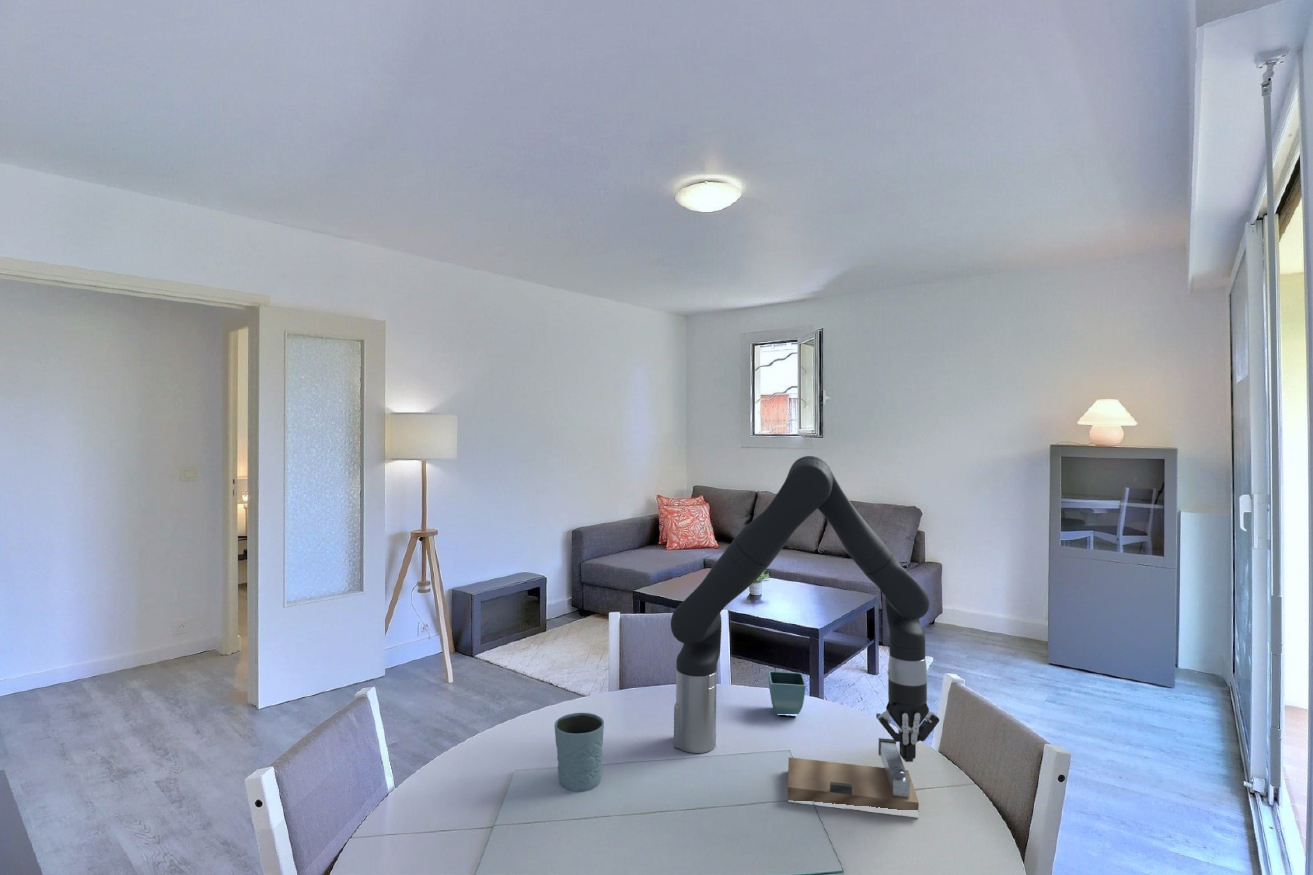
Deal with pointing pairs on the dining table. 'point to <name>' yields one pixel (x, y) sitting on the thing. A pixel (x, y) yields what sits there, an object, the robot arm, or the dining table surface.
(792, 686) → the flower pot
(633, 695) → the dining table surface
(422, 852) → the dining table surface
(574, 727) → the embossed green cup
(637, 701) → the dining table surface
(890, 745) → the hinged leg
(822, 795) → the wooden board with bar
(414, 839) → the dining table surface
